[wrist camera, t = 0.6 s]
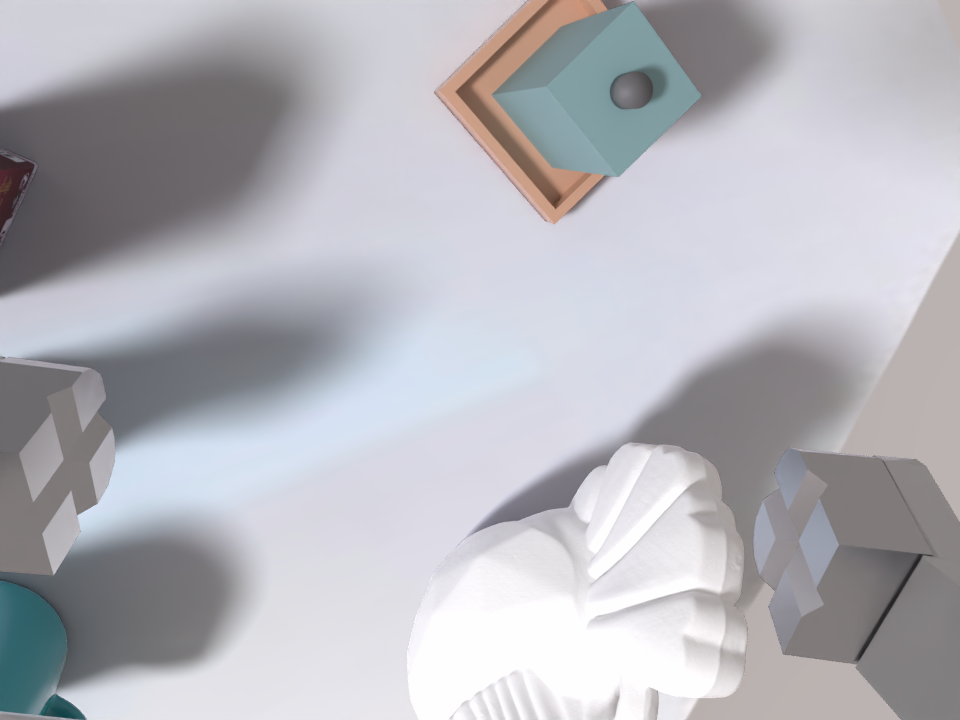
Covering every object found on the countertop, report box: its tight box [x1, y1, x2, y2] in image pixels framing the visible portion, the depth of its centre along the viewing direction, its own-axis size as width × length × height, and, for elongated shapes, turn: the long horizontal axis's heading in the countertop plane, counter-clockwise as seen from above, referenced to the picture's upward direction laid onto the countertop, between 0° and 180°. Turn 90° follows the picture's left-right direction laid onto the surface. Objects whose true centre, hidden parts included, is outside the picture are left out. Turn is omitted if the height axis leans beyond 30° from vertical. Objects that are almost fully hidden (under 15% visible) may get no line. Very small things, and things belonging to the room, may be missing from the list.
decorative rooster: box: [407, 442, 748, 720], centre depth 45 cm, size 25×16×25 cm, turn 146°
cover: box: [491, 1, 701, 177], centre depth 42 cm, size 6×6×11 cm
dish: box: [434, 0, 608, 224], centre depth 47 cm, size 10×10×3 cm
